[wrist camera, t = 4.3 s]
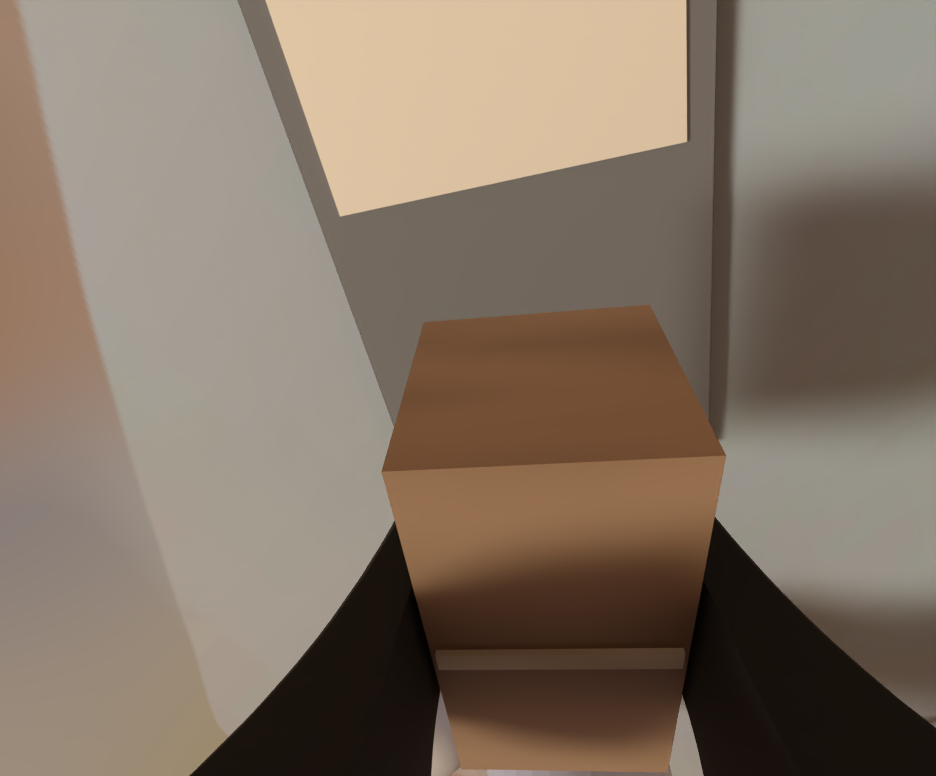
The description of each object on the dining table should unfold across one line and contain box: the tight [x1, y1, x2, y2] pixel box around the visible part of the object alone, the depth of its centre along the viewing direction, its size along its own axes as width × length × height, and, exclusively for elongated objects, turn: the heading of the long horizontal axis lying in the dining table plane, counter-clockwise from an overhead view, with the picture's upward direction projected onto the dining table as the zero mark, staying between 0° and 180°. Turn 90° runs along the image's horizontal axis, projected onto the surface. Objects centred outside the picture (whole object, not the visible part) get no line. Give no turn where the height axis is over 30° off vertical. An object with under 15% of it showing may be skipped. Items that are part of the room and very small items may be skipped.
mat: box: [238, 0, 717, 426], centre depth 16 cm, size 18×11×1 cm, turn 13°
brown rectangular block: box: [382, 305, 726, 772], centre depth 10 cm, size 8×4×4 cm, turn 7°
